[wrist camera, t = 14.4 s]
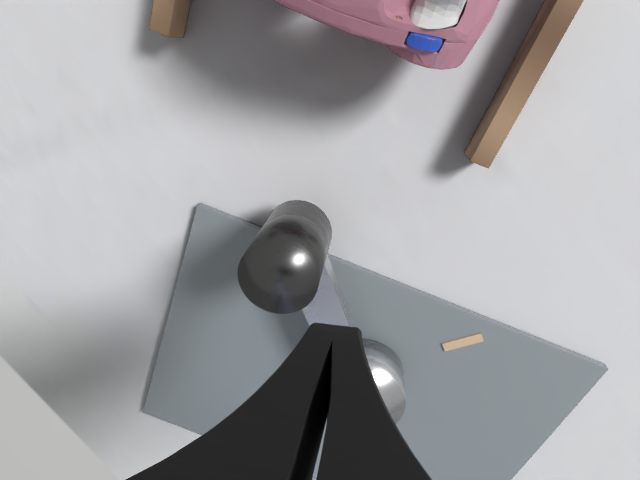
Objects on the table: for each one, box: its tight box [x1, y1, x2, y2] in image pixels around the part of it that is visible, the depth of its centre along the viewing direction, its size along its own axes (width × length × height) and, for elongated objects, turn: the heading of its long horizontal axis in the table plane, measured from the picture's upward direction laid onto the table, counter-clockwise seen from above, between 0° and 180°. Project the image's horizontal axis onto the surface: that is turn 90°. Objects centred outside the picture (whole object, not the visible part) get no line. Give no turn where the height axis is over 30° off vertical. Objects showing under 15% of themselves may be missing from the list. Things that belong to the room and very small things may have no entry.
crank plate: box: [143, 203, 608, 480], centre depth 25 cm, size 15×22×1 cm
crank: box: [237, 200, 406, 424], centre depth 20 cm, size 13×4×5 cm, turn 20°
